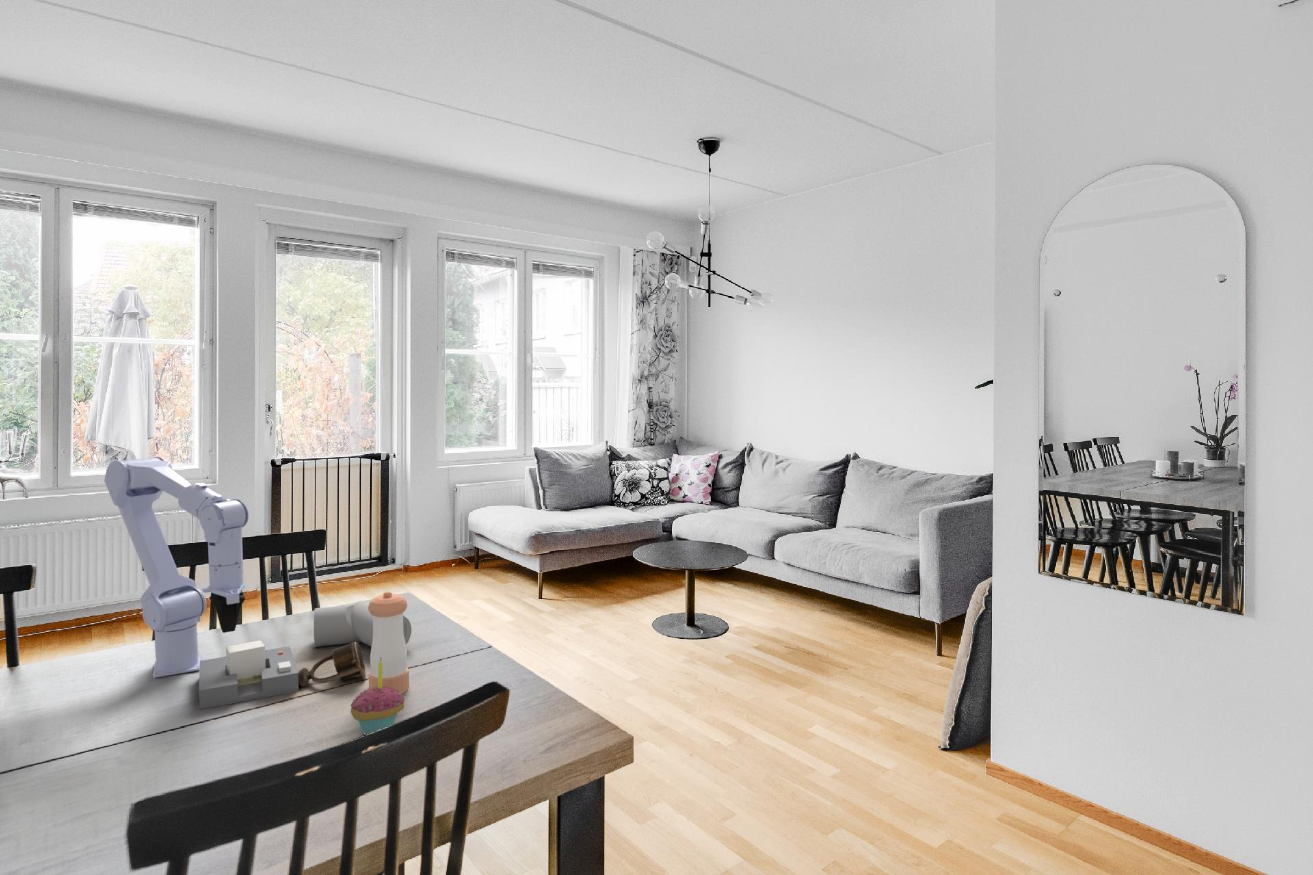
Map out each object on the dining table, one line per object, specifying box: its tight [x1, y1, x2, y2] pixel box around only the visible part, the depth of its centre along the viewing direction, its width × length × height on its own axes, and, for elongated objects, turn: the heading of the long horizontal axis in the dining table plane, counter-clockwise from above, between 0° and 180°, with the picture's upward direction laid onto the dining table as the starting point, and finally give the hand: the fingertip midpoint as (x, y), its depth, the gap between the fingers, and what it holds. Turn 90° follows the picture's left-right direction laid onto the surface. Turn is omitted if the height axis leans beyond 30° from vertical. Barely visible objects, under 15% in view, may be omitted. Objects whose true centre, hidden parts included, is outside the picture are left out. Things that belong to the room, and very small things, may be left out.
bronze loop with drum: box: [298, 642, 367, 687], centre depth 145 cm, size 7×13×10 cm
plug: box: [225, 640, 266, 684], centre depth 142 cm, size 4×6×6 cm, turn 129°
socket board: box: [198, 645, 299, 710], centre depth 143 cm, size 16×16×4 cm
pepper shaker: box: [368, 590, 410, 694], centre depth 140 cm, size 7×7×19 cm
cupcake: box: [350, 657, 405, 736], centre depth 125 cm, size 9×8×12 cm
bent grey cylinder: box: [313, 600, 412, 648], centre depth 164 cm, size 18×11×20 cm
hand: (228, 630), depth 144 cm, fingers closed
